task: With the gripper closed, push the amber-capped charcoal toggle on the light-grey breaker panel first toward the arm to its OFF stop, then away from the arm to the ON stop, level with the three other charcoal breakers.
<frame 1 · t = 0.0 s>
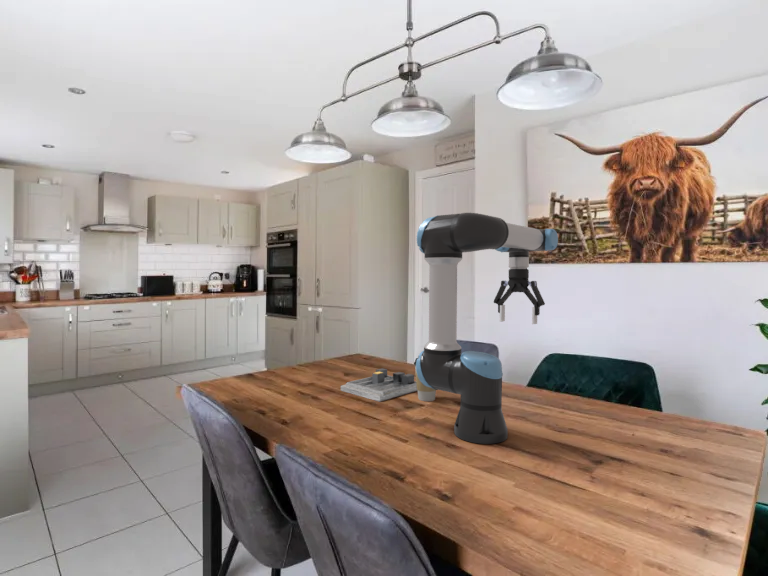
hand: (518, 322, 169), 28 cm above the table, fingers open, 13 cm apart
coffee cup: (426, 399, 162), on the table
tripped toggle: (378, 377, 177), point 4 cm above the table, slide at 0.0 cm
panel: (382, 389, 175), on the table
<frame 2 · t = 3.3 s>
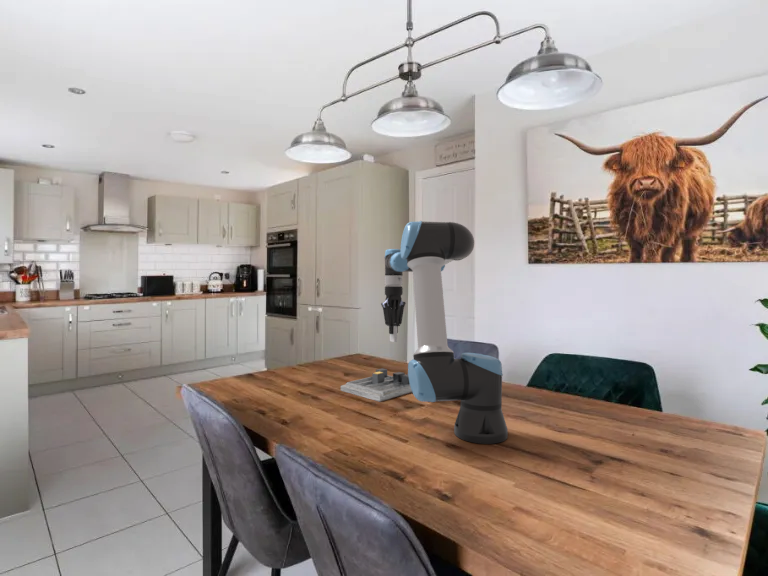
hand: (393, 341, 183), 18 cm above the table, fingers closed
nothing on the table moved.
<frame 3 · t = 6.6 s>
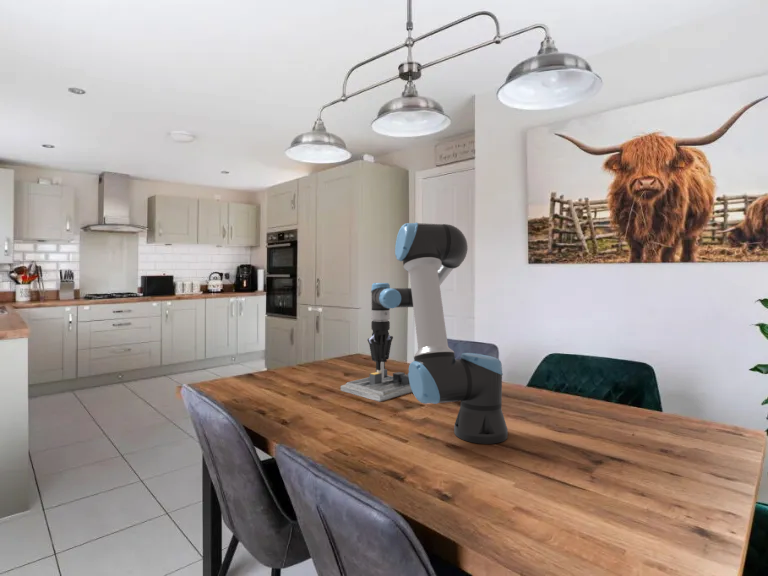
hand: (380, 377, 177), 4 cm above the table, fingers closed
tripped toggle: (375, 378, 175), point 4 cm above the table, slide at -1.6 cm, touching gripper
everything else where it was.
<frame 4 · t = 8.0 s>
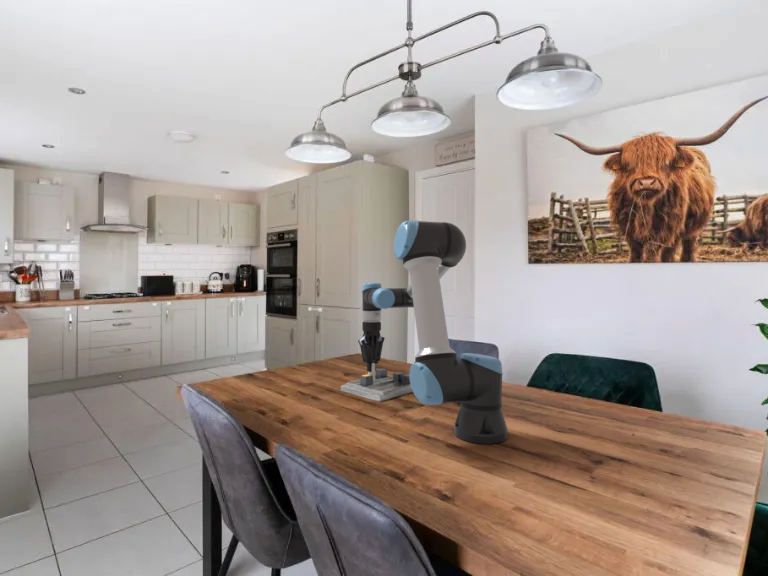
hand: (371, 379, 174), 4 cm above the table, fingers closed
tripped toggle: (366, 380, 172), point 4 cm above the table, slide at -6.7 cm, touching gripper
everything else where it was.
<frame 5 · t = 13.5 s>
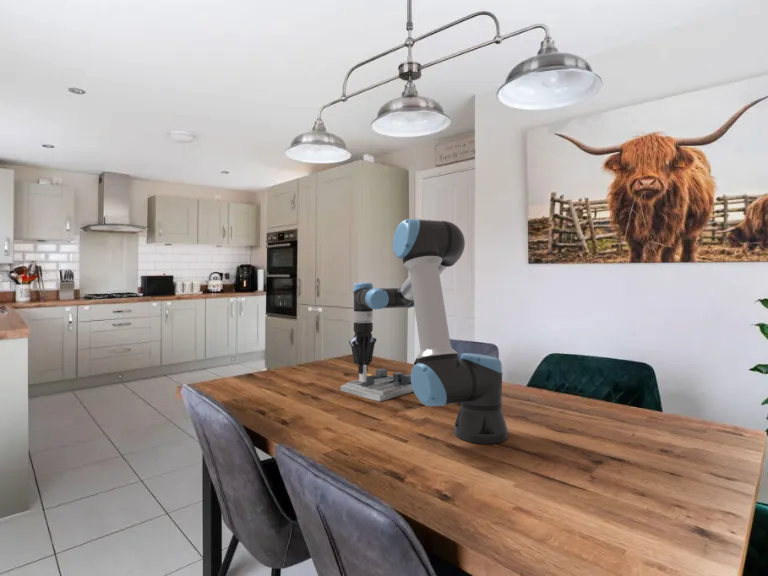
hand: (362, 381, 170), 4 cm above the table, fingers closed
tripped toggle: (367, 380, 172), point 4 cm above the table, slide at -5.9 cm, touching gripper
everything else where it was.
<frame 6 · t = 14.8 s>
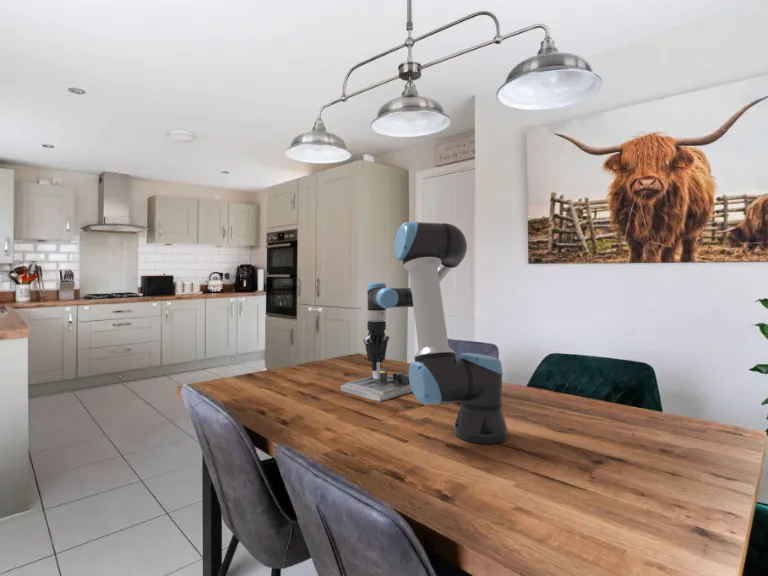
hand: (376, 378, 176), 4 cm above the table, fingers closed
tripped toggle: (381, 377, 178), point 4 cm above the table, slide at 1.6 cm, touching gripper
everything else where it was.
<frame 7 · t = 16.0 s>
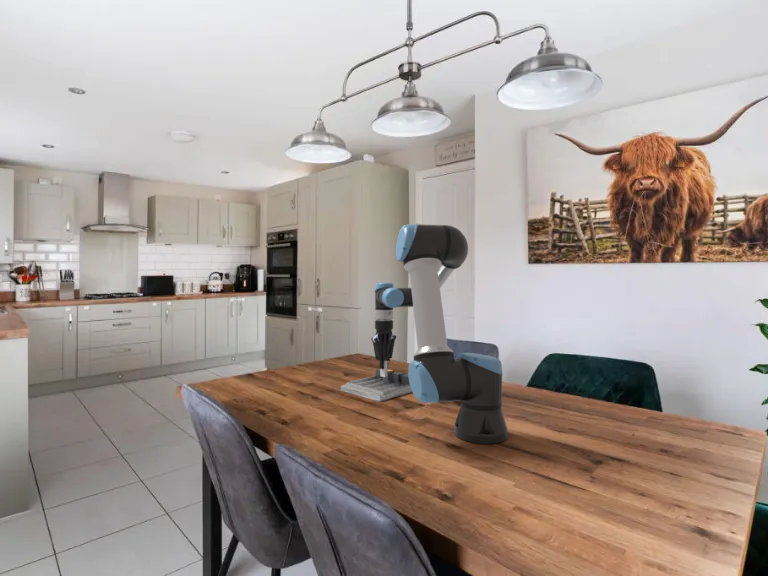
hand: (383, 376, 179), 4 cm above the table, fingers closed
tripped toggle: (388, 375, 181), point 4 cm above the table, slide at 6.0 cm, touching gripper
everything else where it was.
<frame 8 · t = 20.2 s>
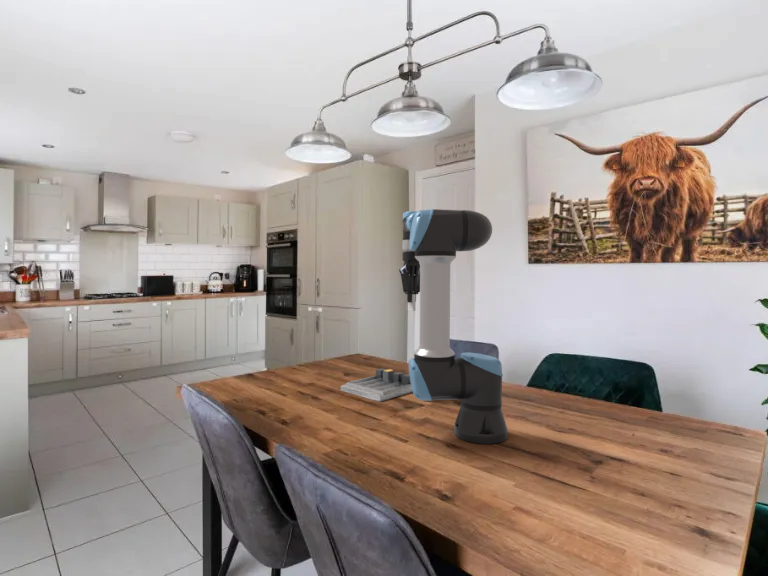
hand: (411, 310, 172), 32 cm above the table, fingers closed
tripped toggle: (388, 375, 181), point 4 cm above the table, slide at 6.2 cm
everything else where it was.
at the end: tripped toggle slide at 6.2 cm; tripped toggle touching nothing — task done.
